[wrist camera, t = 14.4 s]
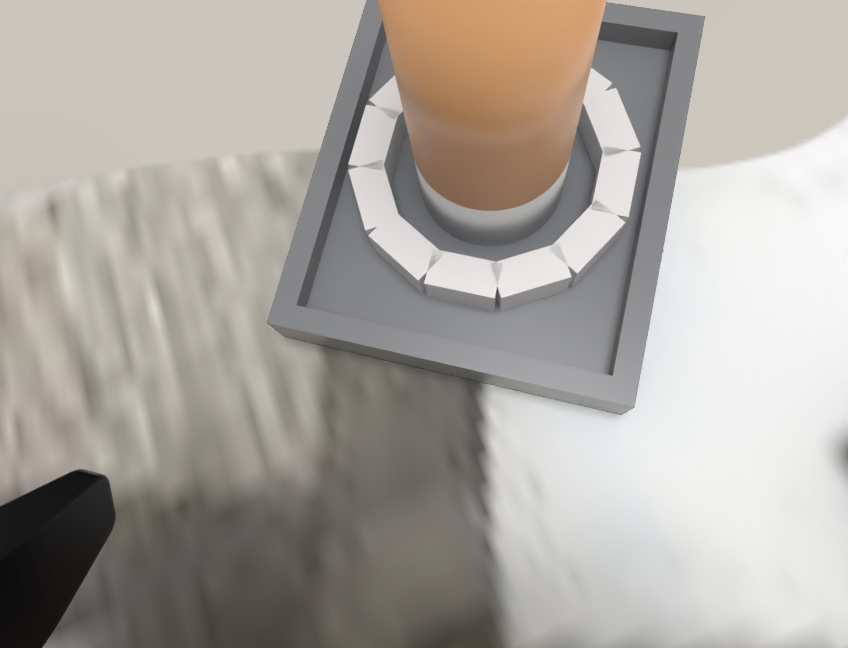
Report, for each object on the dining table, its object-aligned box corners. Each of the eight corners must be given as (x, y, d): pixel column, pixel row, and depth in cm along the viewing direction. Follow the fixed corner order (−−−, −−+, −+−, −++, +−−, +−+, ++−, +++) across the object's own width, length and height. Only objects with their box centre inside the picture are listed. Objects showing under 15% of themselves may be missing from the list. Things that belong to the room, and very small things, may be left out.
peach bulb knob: (438, 261, 23) (377, -10, 11) (408, 135, 25) (322, -236, 12) (580, 226, 23) (684, -89, 11) (542, 101, 25) (595, -311, 12)
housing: (622, 414, 23) (637, 404, 20) (284, 336, 24) (261, 319, 22) (688, 52, 26) (709, 6, 23) (384, 6, 27) (373, -41, 25)
